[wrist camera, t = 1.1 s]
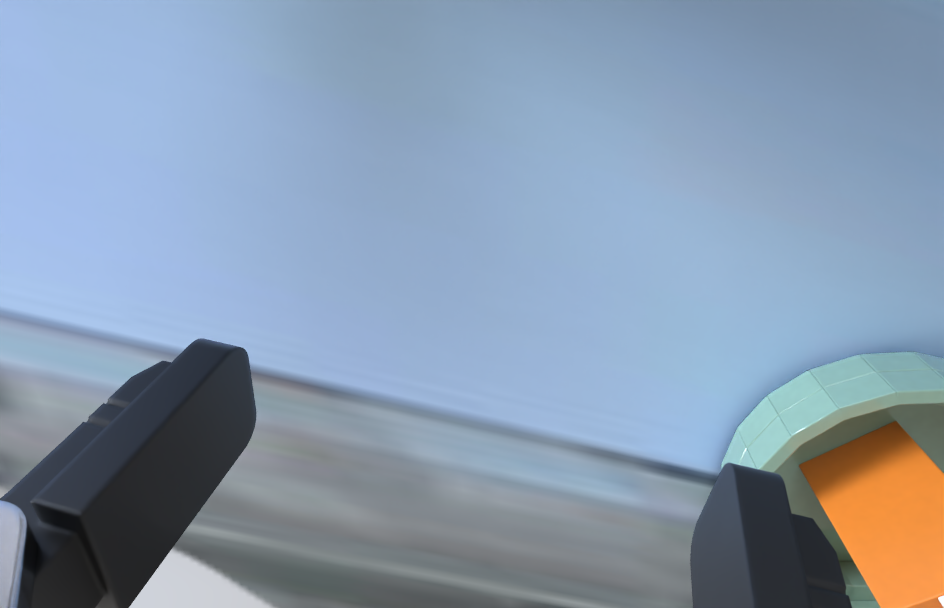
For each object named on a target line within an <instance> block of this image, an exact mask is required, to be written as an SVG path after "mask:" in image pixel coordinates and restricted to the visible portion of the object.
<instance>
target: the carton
mask: <svg viewBox="0 0 944 608" xmlns="http://www.w3.org/2000/svg"><path fill="white" fill-rule="evenodd" d="M799 468H800V469H801V471H802V473H803V474H804V476H805V478H806V480H807V481H808V483H809V485H810V487H811V488H812V490H813V492H814V493H815V495H816V497H817V499H818V500H819V502H820V504H821V506H822V507H823V509H824V511H825V512H826V514H827V516H828V518H829V519H830V521H831V523H832V525H833V526H834V528H835V530H836V531H837V533H838V535H839V537H840V538H841V540H842V542H843V544H844V545H845V547H846V549H847V550H848V552H849V554H850V556H851V557H852V559H853V561H854V563H855V564H856V566H857V568H858V569H859V571H860V573H861V575H862V576H863V578H864V580H865V582H866V583H867V585H868V587H869V588H870V590H871V592H872V594H873V595H874V597H875V599H876V601H877V602H878V604H879V606H880V608H944V473H943V472H942V471H941V470H940V469H939V468H938V466H937V465H936V464H935V463H934V462H933V461H932V460H931V459H930V458H929V456H928V455H927V454H926V453H925V452H924V451H923V450H922V449H921V448H920V446H919V445H918V444H917V443H916V442H915V441H914V440H913V439H912V438H911V437H910V435H909V434H908V433H907V432H906V431H905V430H904V429H903V428H902V427H901V425H900V424H899V423H898V422H897V421H894V422H892V423H890V424H888V425H885V426H883V427H881V428H879V429H877V430H874V431H872V432H870V433H868V434H866V435H863V436H861V437H859V438H857V439H855V440H852V441H850V442H848V443H846V444H844V445H841V446H839V447H837V448H835V449H833V450H830V451H828V452H826V453H824V454H822V455H819V456H817V457H815V458H813V459H811V460H808V461H806V462H804V463H802V464H800V465H799Z"/></svg>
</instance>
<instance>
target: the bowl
mask: <svg viewBox="0 0 944 608" xmlns="http://www.w3.org/2000/svg"><path fill="white" fill-rule="evenodd" d="M894 421H897V422H898V423H899V424H900V425H901V427H902V428H903V429H904V430H905V431H906V432H907V433H908V434H909V435H910V437H911V438H912V439H913V440H914V441H915V442H916V443H917V444H918V445H919V446H920V448H921V449H922V450H923V451H924V452H925V453H926V454H927V455H928V456H929V458H930V459H931V460H932V461H933V462H934V463H935V464H936V465H937V466H938V468H939V469H940V470H941V471H942V472H943V473H944V358H940V357H936V356H931V355H927V354H922V353H918V352H891V353H872V354H860V355H855V356H851V357H848V358H845V359H842V360H838V361H835V362H832V363H829V364H826V365H822V366H819V367H816V368H813V369H810V370H807V371H806V372H804V373H802V374H801V375H799V376H797V377H796V378H794V379H793V380H791V381H789V382H788V383H786V384H784V385H783V386H781V387H779V388H778V389H776V390H775V391H773V392H771V393H770V394H768V395H767V396H766V397H765V398H764V399H763V400H762V401H761V402H760V403H759V404H758V405H757V406H756V407H755V409H754V410H753V411H752V412H751V413H750V414H749V415H748V416H747V417H746V418H745V419H744V421H743V422H742V423H741V424H740V425H739V426H738V427H737V429H736V432H735V434H734V436H733V438H732V441H731V443H730V445H729V448H728V450H727V452H726V454H725V457H724V459H723V461H722V464H721V470H722V468H723V466H724V465H725V464H726V463H728V462H729V463H734V464H738V465H742V466H747V467H751V468H755V469H759V470H764V471H768V472H772V473H777V474H779V475H781V477H782V478H783V480H784V483H785V487H786V491H787V496H788V500H789V504H790V509H791V513H792V514H796V515H801V516H805V517H809V518H813V519H814V521H815V522H816V524H817V525H818V527H819V528H820V530H821V531H822V532H823V534H824V535H825V537H826V538H827V540H828V541H829V543H830V544H831V545H832V547H833V548H834V550H835V551H836V553H837V556H838V560H839V563H840V567H841V570H842V574H843V578H844V581H845V585H846V588H847V589H846V595H848V596H849V599H850V602H851V606H852V608H880V606H879V604H878V602H877V601H876V599H875V597H874V595H873V594H872V592H871V590H870V588H869V587H868V585H867V583H866V582H865V580H864V578H863V576H862V575H861V573H860V571H859V569H858V568H857V566H856V564H855V563H854V561H853V559H852V557H851V556H850V554H849V552H848V550H847V549H846V547H845V545H844V544H843V542H842V540H841V538H840V537H839V535H838V533H837V531H836V530H835V528H834V526H833V525H832V523H831V521H830V519H829V518H828V516H827V514H826V512H825V511H824V509H823V507H822V506H821V504H820V502H819V500H818V499H817V497H816V495H815V493H814V492H813V490H812V488H811V487H810V485H809V483H808V481H807V480H806V478H805V476H804V474H803V473H802V471H801V469H800V468H799V465H800V464H802V463H804V462H806V461H808V460H811V459H813V458H815V457H817V456H819V455H822V454H824V453H826V452H828V451H830V450H833V449H835V448H837V447H839V446H841V445H844V444H846V443H848V442H850V441H852V440H855V439H857V438H859V437H861V436H863V435H866V434H868V433H870V432H872V431H874V430H877V429H879V428H881V427H883V426H885V425H888V424H890V423H892V422H894Z"/></svg>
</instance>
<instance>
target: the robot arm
mask: <svg viewBox="0 0 944 608" xmlns="http://www.w3.org/2000/svg"><path fill="white" fill-rule="evenodd" d="M255 422H256V407H255V400H254V393H253V386H252V379H251V372H250V365H249V358H248V354H247V352H246V351H245V349H243V348H241V347H237V346H233V345H228V344H224V343H220V342H215V341H211V340H207V339H197V340H195V341H194V342H192V343H191V344H190V345H189V346H188V347H187V348H186V349H185V350H184V351H183V352H182V353H181V354H180V355H179V356H178V357H177V358H176V359H175V360H174V361H173V362H172V363H171V362H167V361H161V362H159V363H157V364H156V365H154V366H152V367H150V368H148V369H146V370H144V371H142V372H140V373H138V374H137V375H135V376H133V377H131V378H130V379H129V380H128V381H127V382H126V383H125V384H124V385H123V386H122V387H120V388H119V389H118V390H117V391H116V392H115V393H114V394H113V395H112V396H111V397H110V398H109V399H108V402H107V404H104V403H103V404H102V405H101V406H100V407H99V408H98V409H97V410H96V411H95V412H94V413H93V414H92V415H90V416H89V419H88V421H87V422H86V423H85V422H83V423H82V424H81V425H80V426H79V427H78V428H76V429H75V430H74V431H73V432H72V433H71V434H70V435H69V436H68V437H67V438H66V439H65V440H64V441H63V442H61V443H60V444H59V445H58V446H57V447H56V448H55V449H54V450H53V451H52V452H51V453H50V454H49V455H48V456H46V457H45V458H44V459H43V460H42V461H41V462H40V463H39V464H38V465H37V466H36V467H35V468H34V469H33V470H31V471H30V472H29V473H28V474H27V475H26V476H25V477H24V478H23V479H22V480H21V481H20V482H19V483H18V484H16V485H15V486H14V487H13V488H12V489H11V490H10V491H9V492H8V493H6V494H5V495H4V496H3V497H2V498H0V608H129V606H130V605H131V604H132V602H133V601H134V600H135V598H136V597H137V595H138V594H139V593H140V591H141V590H142V589H143V587H144V586H145V585H146V583H147V582H148V580H149V579H150V578H151V576H152V575H153V574H154V572H155V571H156V569H157V568H158V567H159V565H160V564H161V563H162V561H163V560H164V558H165V557H166V556H167V554H168V553H169V552H170V550H171V549H172V548H173V546H174V545H175V543H176V542H177V541H178V539H179V538H180V537H181V535H182V534H183V532H184V531H185V530H186V528H187V527H188V526H189V524H190V523H191V522H192V520H193V519H194V517H195V516H196V515H197V513H198V512H199V511H200V509H201V508H202V506H203V505H204V504H205V502H206V501H207V500H208V498H209V497H210V496H211V494H212V493H213V491H214V490H215V489H216V487H217V486H218V485H219V483H220V482H221V480H222V479H223V478H224V476H225V475H226V474H227V472H228V471H229V469H230V468H231V467H232V465H233V464H234V463H235V461H236V460H237V459H238V457H239V456H240V454H241V453H242V452H243V450H244V449H245V447H246V446H247V444H248V442H249V441H250V438H251V436H252V433H253V430H254V427H255ZM690 561H691V580H692V596H693V608H852V606H851V602H850V599H849V596H848V595H846V589H847V588H846V585H845V581H844V578H843V574H842V570H841V567H840V563H839V560H838V556H837V553H836V551H835V550H834V548H833V547H832V545H831V544H830V543H829V541H828V540H827V538H826V537H825V535H824V534H823V532H822V531H821V530H820V528H819V527H818V525H817V524H816V522H815V521H814V519H813V518H809V517H805V516H801V515H796V514H792V513H791V509H790V504H789V500H788V496H787V491H786V487H785V483H784V480H783V478H782V477H781V475H779V474H777V473H772V472H768V471H764V470H759V469H755V468H751V467H747V466H742V465H738V464H734V463H729V462H728V463H726V464H725V465H724V466H723V468H722V470H721V472H720V474H719V476H718V478H717V480H716V482H715V485H714V487H713V489H712V491H711V493H710V495H709V497H708V500H707V502H706V504H705V506H704V508H703V510H702V512H701V515H700V517H699V519H698V521H697V524H696V526H695V530H694V534H693V538H692V545H691V559H690Z"/></svg>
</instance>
